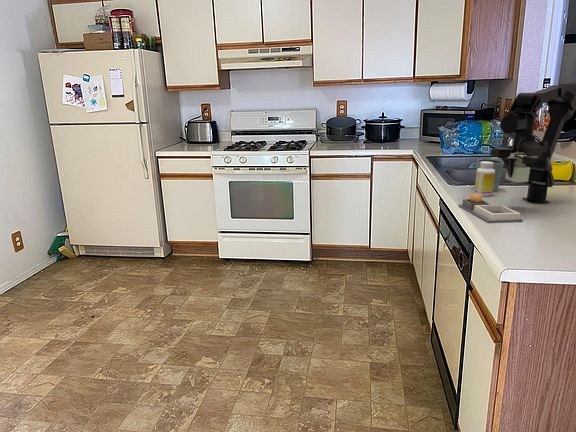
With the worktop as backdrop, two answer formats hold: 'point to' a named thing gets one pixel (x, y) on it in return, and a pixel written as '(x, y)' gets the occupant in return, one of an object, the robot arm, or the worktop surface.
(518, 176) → the pale green block
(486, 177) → the supplement bottle
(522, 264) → the worktop surface
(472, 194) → the click button
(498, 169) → the drinking glass
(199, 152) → the worktop surface
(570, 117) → the robot arm
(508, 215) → the chassis
